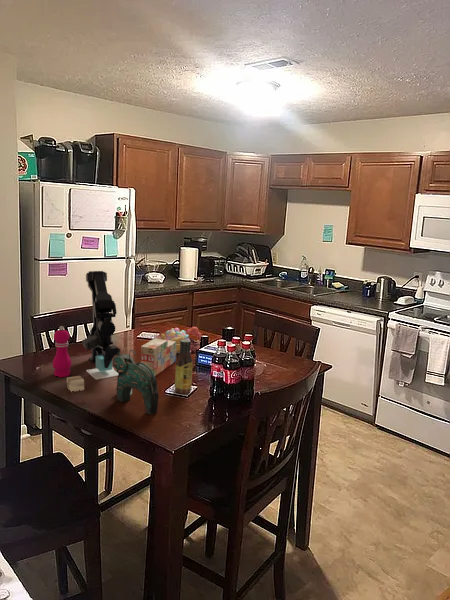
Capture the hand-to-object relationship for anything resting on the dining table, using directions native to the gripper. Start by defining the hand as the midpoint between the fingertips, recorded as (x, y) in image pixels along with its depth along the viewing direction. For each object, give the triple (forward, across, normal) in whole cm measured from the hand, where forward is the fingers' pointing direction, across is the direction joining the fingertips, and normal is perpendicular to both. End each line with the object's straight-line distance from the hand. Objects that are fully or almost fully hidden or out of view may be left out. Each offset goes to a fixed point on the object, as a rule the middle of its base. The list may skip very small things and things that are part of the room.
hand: (103, 366), depth 204 cm
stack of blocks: (+3, +4, +23) cm, 24 cm away
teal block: (+1, 0, 0) cm, 1 cm away
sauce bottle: (+3, +31, +19) cm, 36 cm away
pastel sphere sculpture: (+4, -18, +45) cm, 49 cm away
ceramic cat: (+3, +35, -2) cm, 35 cm away
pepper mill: (+3, -6, -15) cm, 16 cm away
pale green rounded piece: (+3, +23, -1) cm, 23 cm away
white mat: (+3, 0, 0) cm, 3 cm away
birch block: (+3, +10, -15) cm, 19 cm away
